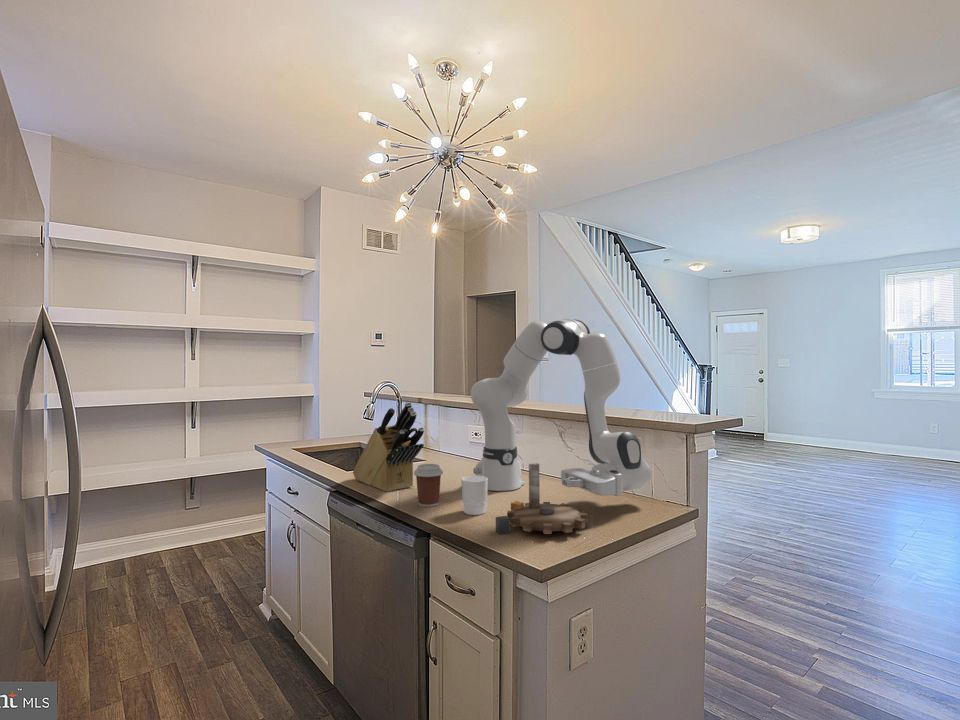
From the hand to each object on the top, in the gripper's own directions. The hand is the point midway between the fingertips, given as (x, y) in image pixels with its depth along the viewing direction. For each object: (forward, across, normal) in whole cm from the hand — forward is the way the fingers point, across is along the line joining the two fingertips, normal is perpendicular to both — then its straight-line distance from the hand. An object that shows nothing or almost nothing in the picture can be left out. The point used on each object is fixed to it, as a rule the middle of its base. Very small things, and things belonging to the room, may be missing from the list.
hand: (564, 483), depth 149 cm
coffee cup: (+33, -27, +9) cm, 44 cm away
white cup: (+23, -13, +9) cm, 28 cm away
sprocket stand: (+16, +7, +9) cm, 19 cm away
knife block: (+40, -55, +9) cm, 69 cm away
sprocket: (+10, +7, +7) cm, 15 cm away
